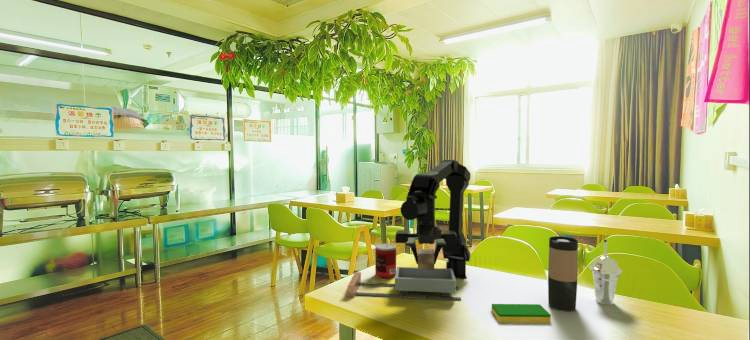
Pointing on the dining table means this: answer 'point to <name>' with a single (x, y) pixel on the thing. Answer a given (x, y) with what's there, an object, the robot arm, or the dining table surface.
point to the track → (357, 282)
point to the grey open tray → (425, 280)
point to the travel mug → (562, 273)
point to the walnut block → (425, 259)
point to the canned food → (385, 261)
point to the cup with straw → (605, 277)
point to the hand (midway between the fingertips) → (425, 263)
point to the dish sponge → (520, 313)
